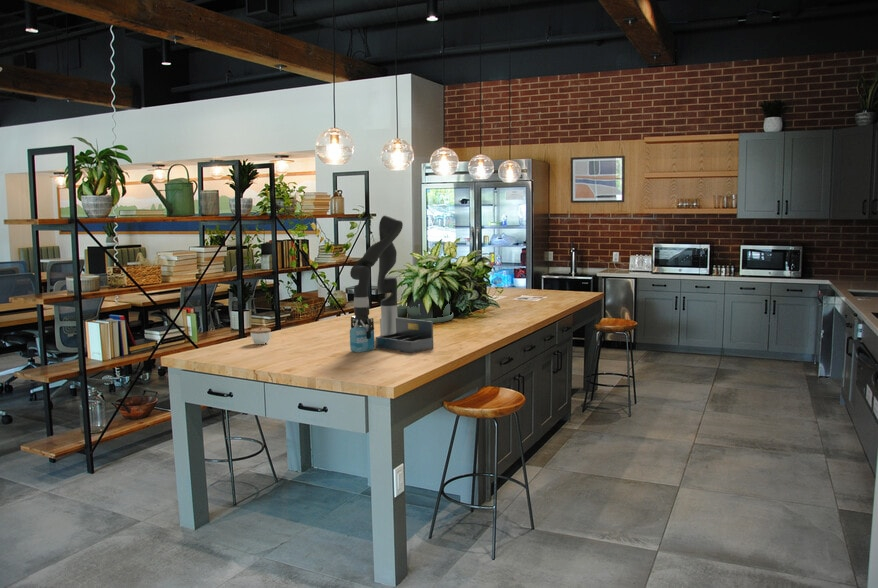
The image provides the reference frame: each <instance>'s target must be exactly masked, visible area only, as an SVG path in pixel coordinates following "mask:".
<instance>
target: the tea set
mask: <svg viewBox="0 0 878 588" xmlns="http://www.w3.org/2000/svg"><path fill="white" fill-rule="evenodd" d="M401 304H402V303H401ZM401 304H398V305H397V312H398V318H404V319H411V318H408V317H407V313H408V314H409V315H412V316H414V317H415V316H417V315H418V314H419V316H420V315H421V313H420V304H418V308H417V307H416V306H415V307H414V306H413V307H411V308H410V307H409V306H408V307H407V306H406V304H407V303H404V304H405V305H403V306H402V305H401ZM450 312H451V303H450V304H449V303H448V304H447V305H446V306H445V308H444V310H443V314H442V315H443V317H437V318H421V319H413V320H423V321H432V322H433V324H437V323H445V322H448V321H451V320H452V319H454V312H452V314H451V315H450Z"/></svg>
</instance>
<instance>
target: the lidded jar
mask: <svg viewBox="0 0 878 588" xmlns="http://www.w3.org/2000/svg"><path fill="white" fill-rule="evenodd" d="M249 332H250V337H251V340H252V342H253V343H254V344H255V345H256V344H264V343H267V344H268V343H269V341H270V340H271V337H272V336H271V335H272V333H271V332H272V329H271V328H268V327H262V326H259V327H258V328H252V329H250V330H249ZM264 345H265V344H264Z"/></svg>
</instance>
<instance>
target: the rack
mask: <svg viewBox="0 0 878 588" xmlns="http://www.w3.org/2000/svg"><path fill="white" fill-rule="evenodd" d="M375 348H376V349H382V350H389V351H394V352H402V353H409V354H415V353H418V352H422V351H423V352H424V351H427V350H430V349H434V323H433V322H432V321H423V320H413V319H404V318H396V333H393V334H389V335H384V336H382V335H380V336H375Z"/></svg>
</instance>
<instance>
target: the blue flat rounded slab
mask: <svg viewBox="0 0 878 588" xmlns="http://www.w3.org/2000/svg"><path fill="white" fill-rule="evenodd" d="M371 328H372V325H371ZM366 332H367V331H366V329H365V328H364V327H363V326H360V327H355V328H351V327H350V330H349V344H350V346H349V349H350V351H351V352H353V353H358V354H359V353H362V352H363V353H364V352H369V351H372V350H374V349H375V348H376V345H375V329H374V330H372V331H371V338H370V339H367V336H366Z"/></svg>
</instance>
